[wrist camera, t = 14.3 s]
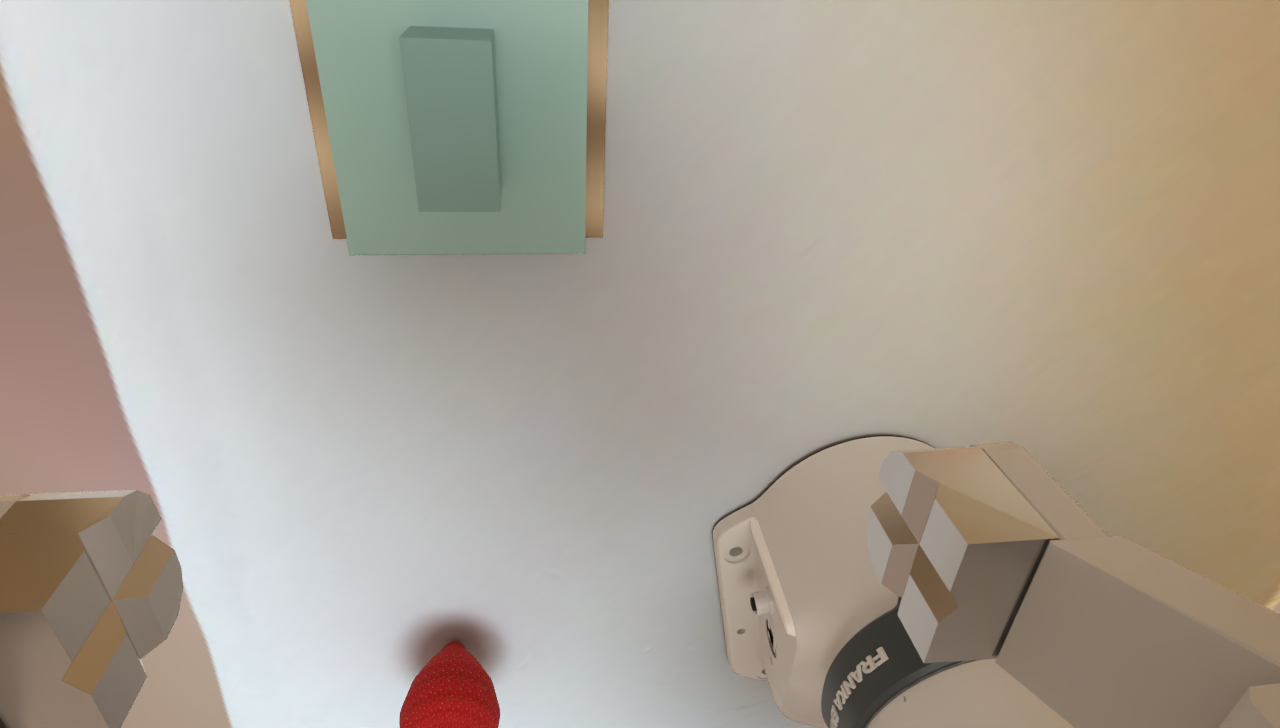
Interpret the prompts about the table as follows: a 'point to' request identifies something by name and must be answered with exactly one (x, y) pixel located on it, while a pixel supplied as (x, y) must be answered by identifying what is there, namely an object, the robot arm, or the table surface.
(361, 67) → the lid
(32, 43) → the table surface
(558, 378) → the table surface
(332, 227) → the cork mat
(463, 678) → the strawberry
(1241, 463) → the table surface
